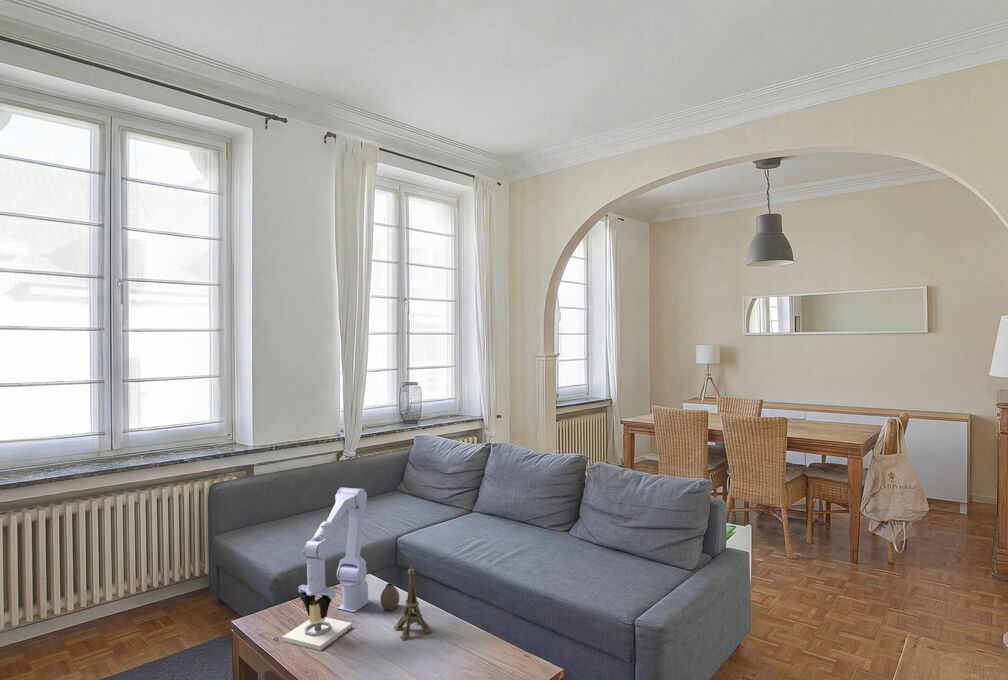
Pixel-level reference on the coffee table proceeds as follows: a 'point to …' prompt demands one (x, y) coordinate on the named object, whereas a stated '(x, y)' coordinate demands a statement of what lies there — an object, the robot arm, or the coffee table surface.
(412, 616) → the eiffel tower
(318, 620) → the collar
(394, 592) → the vase
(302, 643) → the post board
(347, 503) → the robot arm
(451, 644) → the coffee table surface
